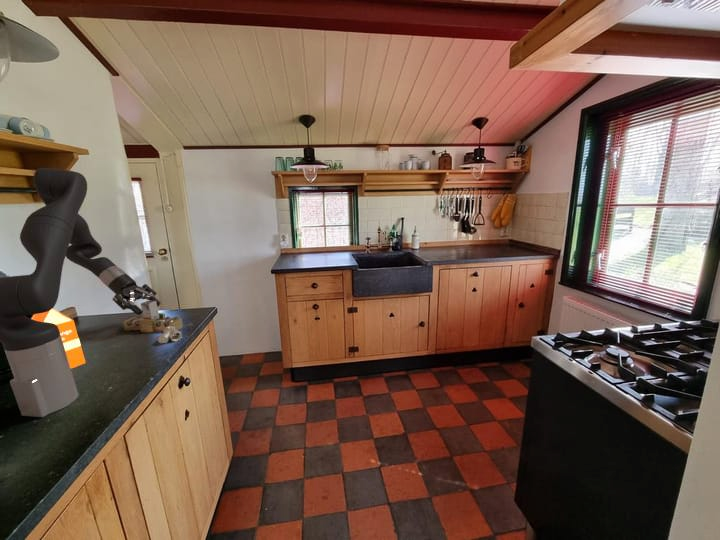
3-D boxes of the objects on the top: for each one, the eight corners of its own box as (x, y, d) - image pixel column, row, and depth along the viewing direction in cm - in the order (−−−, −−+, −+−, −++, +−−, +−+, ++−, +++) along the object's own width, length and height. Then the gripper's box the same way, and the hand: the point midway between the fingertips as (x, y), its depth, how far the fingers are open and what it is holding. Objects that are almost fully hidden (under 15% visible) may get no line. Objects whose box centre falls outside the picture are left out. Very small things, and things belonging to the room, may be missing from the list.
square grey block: (154, 330, 116) (148, 303, 113) (146, 330, 116) (140, 303, 114) (161, 326, 119) (156, 300, 116) (153, 326, 120) (148, 300, 117)
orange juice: (74, 356, 98) (57, 298, 93) (86, 362, 94) (69, 303, 89) (41, 368, 92) (21, 307, 87) (52, 375, 87) (32, 312, 83)
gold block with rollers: (172, 333, 113) (169, 321, 112) (122, 331, 116) (119, 319, 115) (184, 325, 120) (182, 313, 119) (137, 323, 123) (135, 312, 121)
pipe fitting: (162, 347, 103) (183, 339, 108) (159, 338, 102) (180, 329, 107) (155, 341, 109) (175, 333, 113) (152, 331, 107) (172, 324, 112)
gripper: (104, 279, 107) (139, 309, 108) (138, 269, 120) (169, 296, 122) (95, 292, 109) (129, 323, 110) (129, 281, 122) (159, 308, 124)
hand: (150, 309), depth 116 cm, fingers open, 8 cm apart
